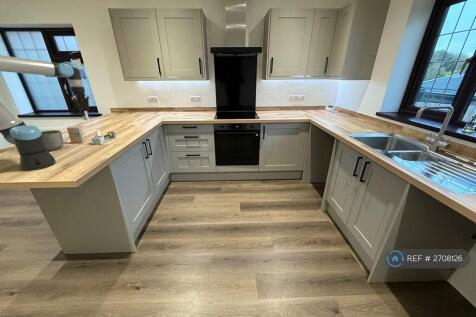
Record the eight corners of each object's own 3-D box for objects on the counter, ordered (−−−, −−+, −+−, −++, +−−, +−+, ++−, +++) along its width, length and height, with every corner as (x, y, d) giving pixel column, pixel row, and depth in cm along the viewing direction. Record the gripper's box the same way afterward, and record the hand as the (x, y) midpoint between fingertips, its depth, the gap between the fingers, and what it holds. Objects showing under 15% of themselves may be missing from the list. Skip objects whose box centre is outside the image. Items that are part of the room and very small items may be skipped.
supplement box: (71, 143, 156) (66, 127, 152) (74, 142, 161) (69, 126, 156) (83, 143, 159) (78, 127, 154) (85, 141, 163) (81, 126, 158)
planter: (36, 151, 140) (29, 133, 135) (59, 145, 152) (53, 129, 147) (48, 153, 135) (41, 135, 130) (70, 147, 147) (65, 131, 142)
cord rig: (101, 144, 155) (99, 137, 152) (92, 144, 155) (90, 137, 153) (117, 138, 173) (116, 131, 170) (109, 137, 173) (107, 131, 171)
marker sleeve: (102, 142, 157) (99, 130, 153) (96, 141, 157) (93, 130, 154) (104, 141, 160) (102, 130, 156) (99, 140, 160) (96, 129, 157)
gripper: (73, 86, 129) (83, 121, 138) (89, 86, 141) (98, 118, 150) (63, 86, 130) (74, 121, 139) (80, 86, 142) (89, 118, 151)
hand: (86, 120), depth 144 cm, fingers closed
